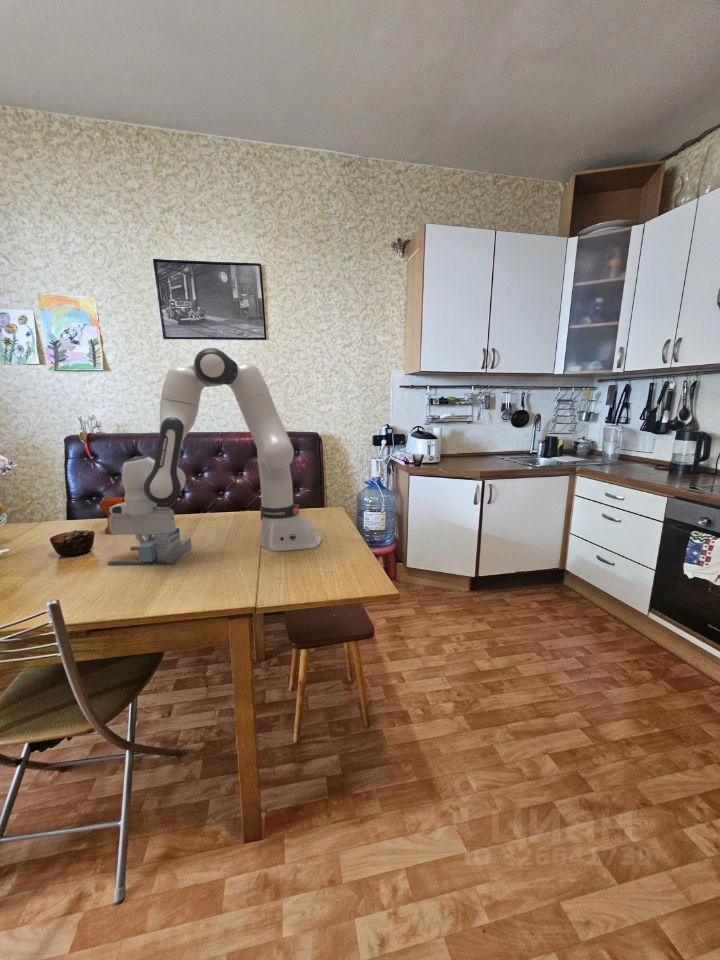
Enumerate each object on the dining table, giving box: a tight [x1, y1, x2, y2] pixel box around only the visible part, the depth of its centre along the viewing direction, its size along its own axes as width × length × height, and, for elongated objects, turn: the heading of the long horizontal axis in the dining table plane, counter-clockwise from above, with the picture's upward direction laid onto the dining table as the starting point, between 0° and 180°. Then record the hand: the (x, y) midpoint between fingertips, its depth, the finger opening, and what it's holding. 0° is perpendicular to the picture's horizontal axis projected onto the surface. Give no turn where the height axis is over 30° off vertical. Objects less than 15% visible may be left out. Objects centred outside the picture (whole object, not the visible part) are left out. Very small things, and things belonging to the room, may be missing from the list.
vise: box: [107, 537, 192, 566], centre depth 128 cm, size 20×14×4 cm
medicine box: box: [155, 527, 181, 561], centre depth 128 cm, size 8×4×9 cm, turn 0°
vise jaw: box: [137, 535, 158, 562], centre depth 128 cm, size 4×14×5 cm, turn 0°
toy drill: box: [98, 496, 125, 535], centre depth 151 cm, size 5×19×15 cm, turn 87°
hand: (145, 546), depth 128 cm, fingers closed
